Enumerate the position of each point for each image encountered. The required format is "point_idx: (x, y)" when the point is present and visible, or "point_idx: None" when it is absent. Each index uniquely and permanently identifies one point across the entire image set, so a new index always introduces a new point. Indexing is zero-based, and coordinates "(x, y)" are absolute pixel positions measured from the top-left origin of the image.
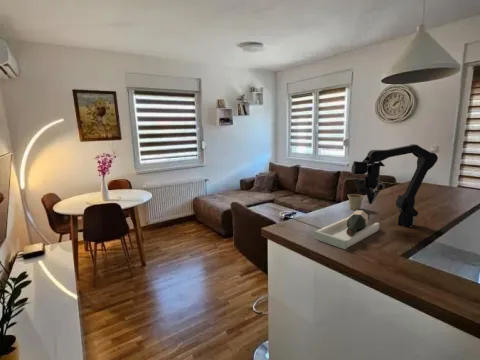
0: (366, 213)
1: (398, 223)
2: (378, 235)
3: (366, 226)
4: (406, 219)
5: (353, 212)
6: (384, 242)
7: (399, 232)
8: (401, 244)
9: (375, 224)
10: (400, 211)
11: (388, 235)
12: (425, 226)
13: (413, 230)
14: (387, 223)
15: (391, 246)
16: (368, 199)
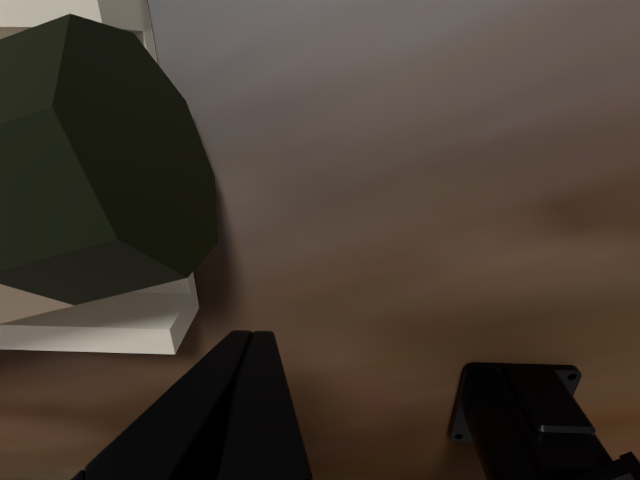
0: (52, 295)
1: (485, 369)
2: None
3: None
4: (482, 465)
5: (27, 36)
6: (17, 399)
7: None
8: (90, 456)
9: (106, 344)
10: (606, 466)
11: (158, 382)
12: None
13: (407, 448)
14: (452, 297)
15: (6, 435)
16: (146, 422)
